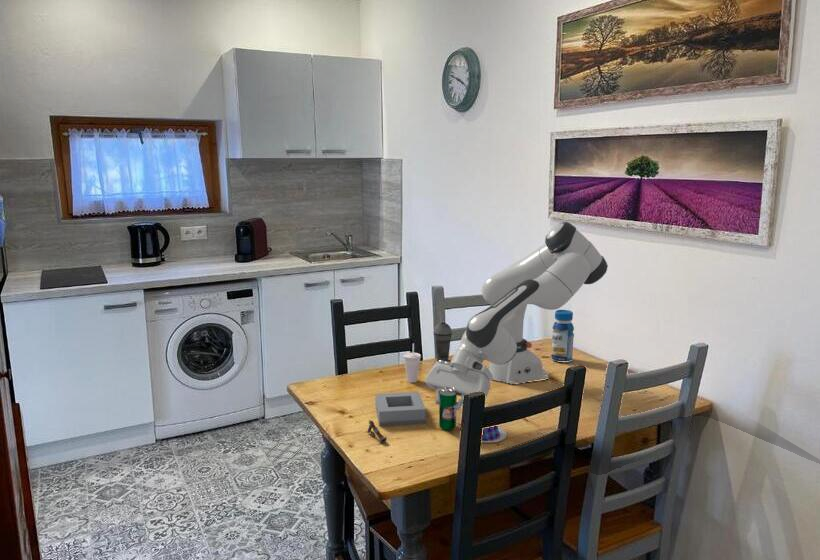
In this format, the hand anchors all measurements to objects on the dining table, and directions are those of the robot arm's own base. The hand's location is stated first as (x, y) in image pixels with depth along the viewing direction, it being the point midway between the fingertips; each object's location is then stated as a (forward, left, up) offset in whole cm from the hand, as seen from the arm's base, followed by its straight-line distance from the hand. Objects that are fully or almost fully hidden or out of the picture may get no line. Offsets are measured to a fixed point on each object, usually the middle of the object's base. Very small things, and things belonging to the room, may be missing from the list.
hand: (446, 406), depth 177 cm
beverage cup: (-10, -60, -7) cm, 62 cm away
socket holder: (+13, -11, -7) cm, 18 cm away
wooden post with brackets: (+21, +4, -7) cm, 23 cm away
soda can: (0, 0, -7) cm, 7 cm away
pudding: (-10, +6, -7) cm, 14 cm away
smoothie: (+5, -40, -7) cm, 41 cm away
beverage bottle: (-57, -54, -7) cm, 79 cm away
